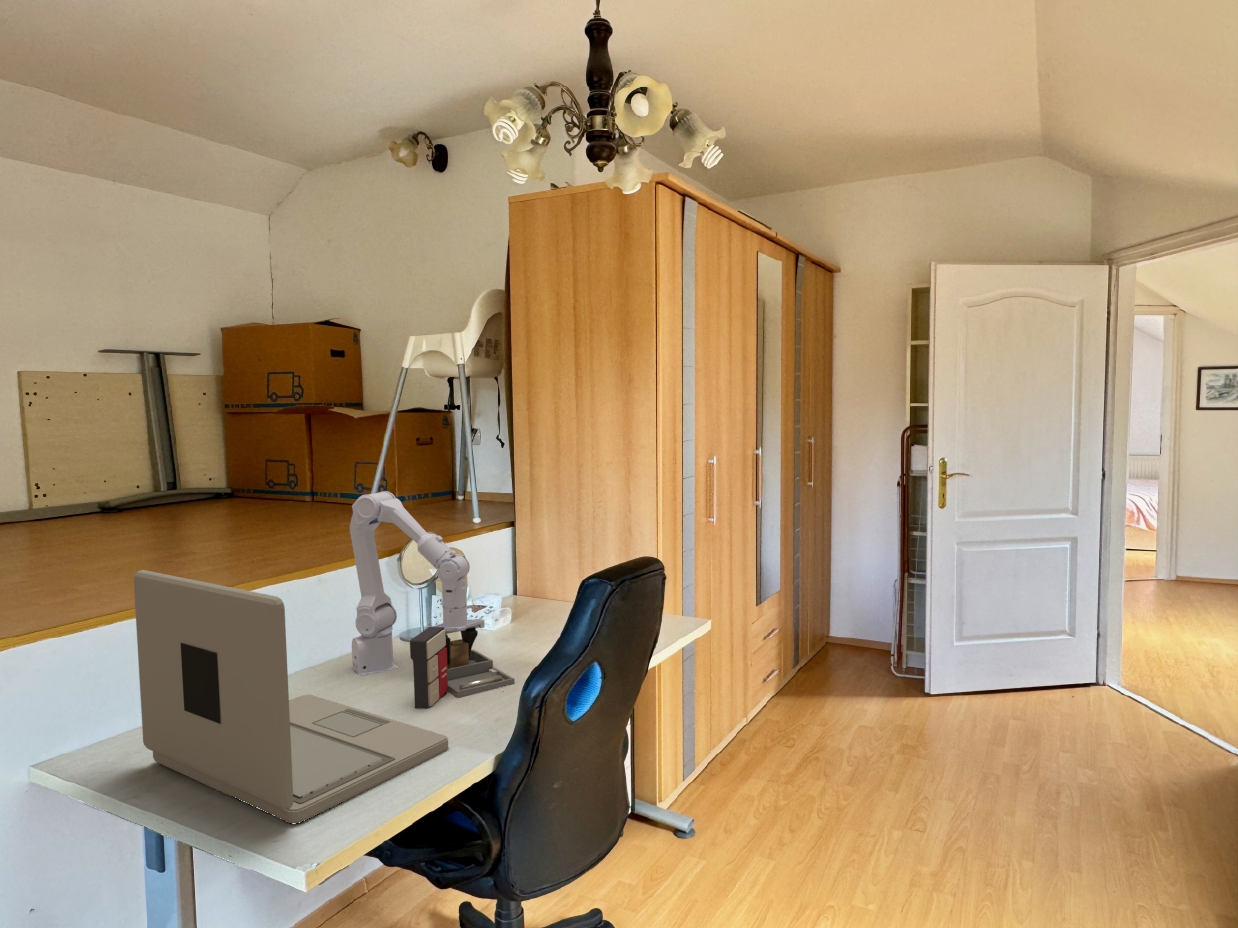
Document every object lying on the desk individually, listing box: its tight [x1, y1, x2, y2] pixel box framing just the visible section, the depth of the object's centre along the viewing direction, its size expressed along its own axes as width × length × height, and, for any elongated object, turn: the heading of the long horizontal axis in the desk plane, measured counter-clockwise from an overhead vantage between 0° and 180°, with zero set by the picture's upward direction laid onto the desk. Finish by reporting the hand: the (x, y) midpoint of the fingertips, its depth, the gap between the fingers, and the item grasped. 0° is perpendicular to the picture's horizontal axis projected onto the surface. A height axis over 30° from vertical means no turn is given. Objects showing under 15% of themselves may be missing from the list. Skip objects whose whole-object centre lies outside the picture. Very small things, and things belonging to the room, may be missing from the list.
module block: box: [447, 638, 469, 669], centre depth 191 cm, size 4×4×6 cm
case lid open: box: [447, 666, 516, 699], centre depth 182 cm, size 14×11×2 cm
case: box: [447, 649, 494, 681], centre depth 191 cm, size 14×11×3 cm
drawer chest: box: [409, 626, 448, 710], centre depth 173 cm, size 11×4×15 cm, turn 171°
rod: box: [459, 675, 502, 690], centre depth 180 cm, size 10×1×1 cm, turn 125°
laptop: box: [133, 569, 449, 824], centre depth 144 cm, size 44×34×36 cm
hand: (456, 661), depth 191 cm, fingers closed on module block, 4 cm apart
